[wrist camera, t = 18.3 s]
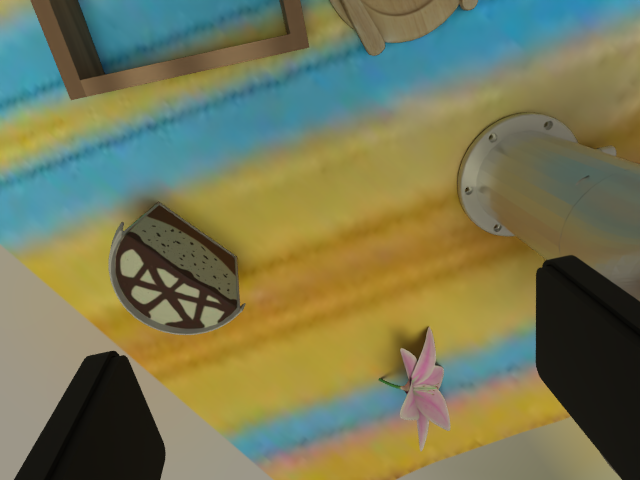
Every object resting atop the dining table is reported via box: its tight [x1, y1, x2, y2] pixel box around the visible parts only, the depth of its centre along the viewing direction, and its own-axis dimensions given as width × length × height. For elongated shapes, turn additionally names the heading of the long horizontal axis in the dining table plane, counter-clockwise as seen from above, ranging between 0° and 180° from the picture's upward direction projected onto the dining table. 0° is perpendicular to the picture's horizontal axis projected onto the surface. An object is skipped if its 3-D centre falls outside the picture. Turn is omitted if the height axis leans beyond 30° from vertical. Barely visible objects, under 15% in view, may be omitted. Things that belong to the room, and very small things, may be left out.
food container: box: [109, 202, 245, 335], centre depth 43 cm, size 12×6×10 cm, turn 49°
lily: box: [379, 327, 450, 451], centre depth 53 cm, size 12×12×10 cm
